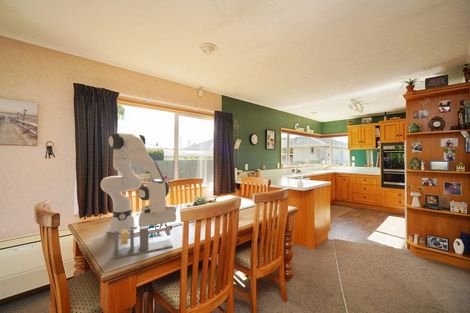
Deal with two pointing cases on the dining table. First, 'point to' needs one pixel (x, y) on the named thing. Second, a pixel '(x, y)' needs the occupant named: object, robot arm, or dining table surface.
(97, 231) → the dining table surface
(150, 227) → the gear
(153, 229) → the shaft
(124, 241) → the spacer
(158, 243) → the bearing base
